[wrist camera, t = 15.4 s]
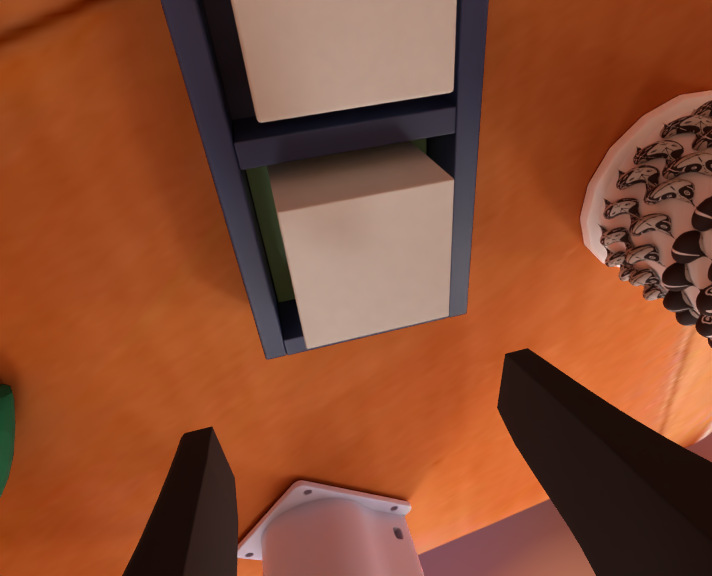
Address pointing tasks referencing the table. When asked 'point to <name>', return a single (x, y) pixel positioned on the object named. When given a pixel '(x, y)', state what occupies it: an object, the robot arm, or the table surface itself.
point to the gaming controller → (6, 433)
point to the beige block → (344, 53)
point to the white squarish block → (365, 239)
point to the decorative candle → (659, 208)
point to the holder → (317, 151)
